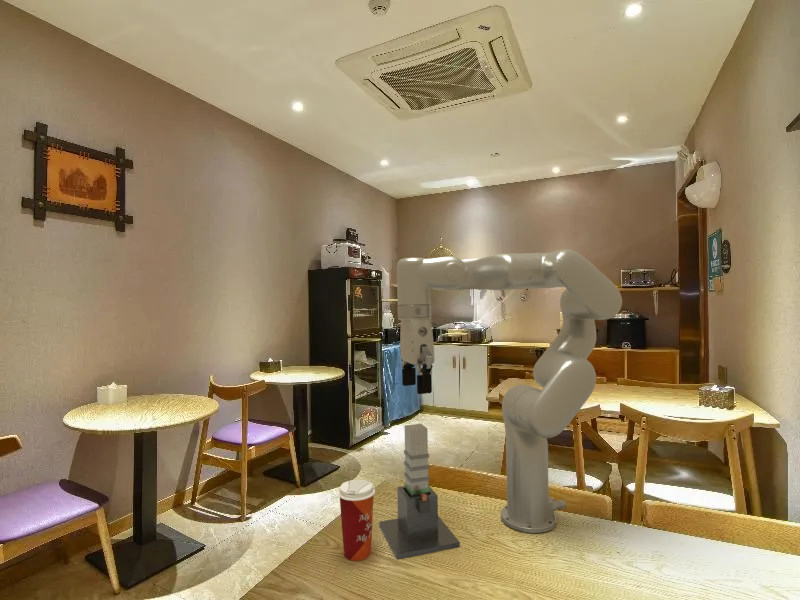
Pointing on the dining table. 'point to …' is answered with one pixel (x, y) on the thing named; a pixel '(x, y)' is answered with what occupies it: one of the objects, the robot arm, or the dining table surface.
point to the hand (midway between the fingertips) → (416, 389)
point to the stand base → (417, 526)
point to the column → (416, 460)
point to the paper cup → (356, 518)
